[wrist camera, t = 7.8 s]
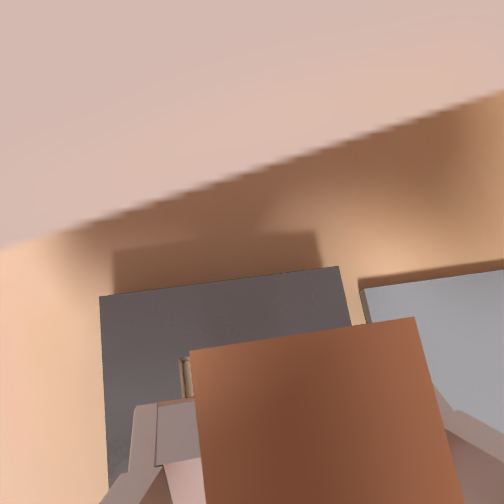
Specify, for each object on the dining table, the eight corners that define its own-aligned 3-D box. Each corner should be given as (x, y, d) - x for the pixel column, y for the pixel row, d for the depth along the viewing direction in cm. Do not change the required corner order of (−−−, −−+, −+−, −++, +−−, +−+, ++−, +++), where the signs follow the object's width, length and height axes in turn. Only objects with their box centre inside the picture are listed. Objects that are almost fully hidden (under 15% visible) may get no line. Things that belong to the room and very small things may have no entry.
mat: (511, 270, 26) (520, 267, 25) (571, 443, 23) (583, 445, 22) (359, 291, 24) (364, 288, 24) (402, 479, 22) (409, 482, 21)
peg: (301, 352, 15) (413, 316, 7) (320, 459, 14) (485, 578, 6) (202, 368, 15) (189, 351, 6) (216, 479, 14) (222, 644, 5)
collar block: (323, 279, 24) (338, 265, 21) (371, 508, 21) (396, 528, 18) (112, 307, 23) (99, 296, 20) (128, 561, 19) (114, 592, 16)
